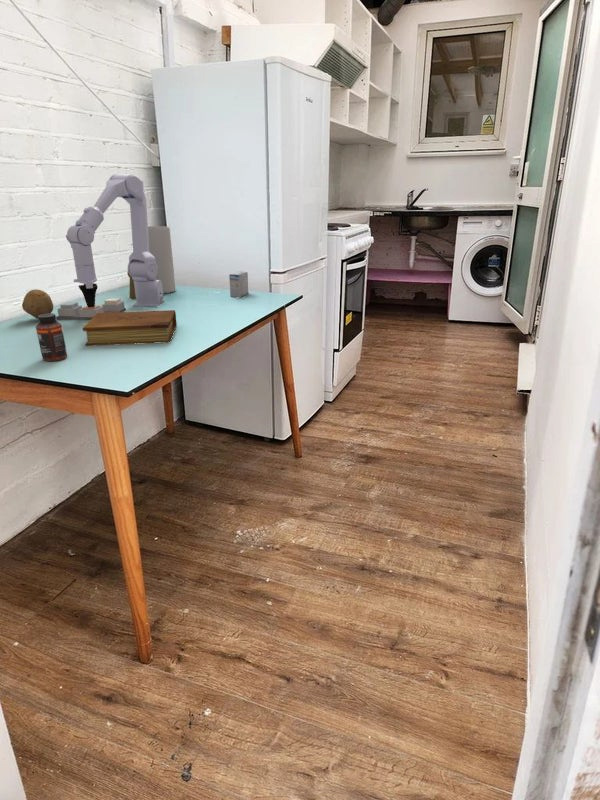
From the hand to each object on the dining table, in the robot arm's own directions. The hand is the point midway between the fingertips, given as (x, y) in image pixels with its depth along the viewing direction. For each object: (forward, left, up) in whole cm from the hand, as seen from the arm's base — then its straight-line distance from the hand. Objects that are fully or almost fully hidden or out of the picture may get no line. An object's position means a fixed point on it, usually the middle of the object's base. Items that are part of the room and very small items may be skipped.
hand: (91, 306), depth 177 cm
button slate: (+8, -1, -2) cm, 8 cm away
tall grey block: (-8, -45, -4) cm, 46 cm away
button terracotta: (0, 0, -2) cm, 2 cm away
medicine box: (-42, -39, -4) cm, 57 cm away
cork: (-3, -33, -4) cm, 33 cm away
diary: (-22, +21, -4) cm, 31 cm away
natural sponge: (+16, +4, -4) cm, 17 cm away
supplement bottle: (-10, +44, -4) cm, 45 cm away
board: (+2, -4, -3) cm, 6 cm away
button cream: (-4, -8, -2) cm, 9 cm away
